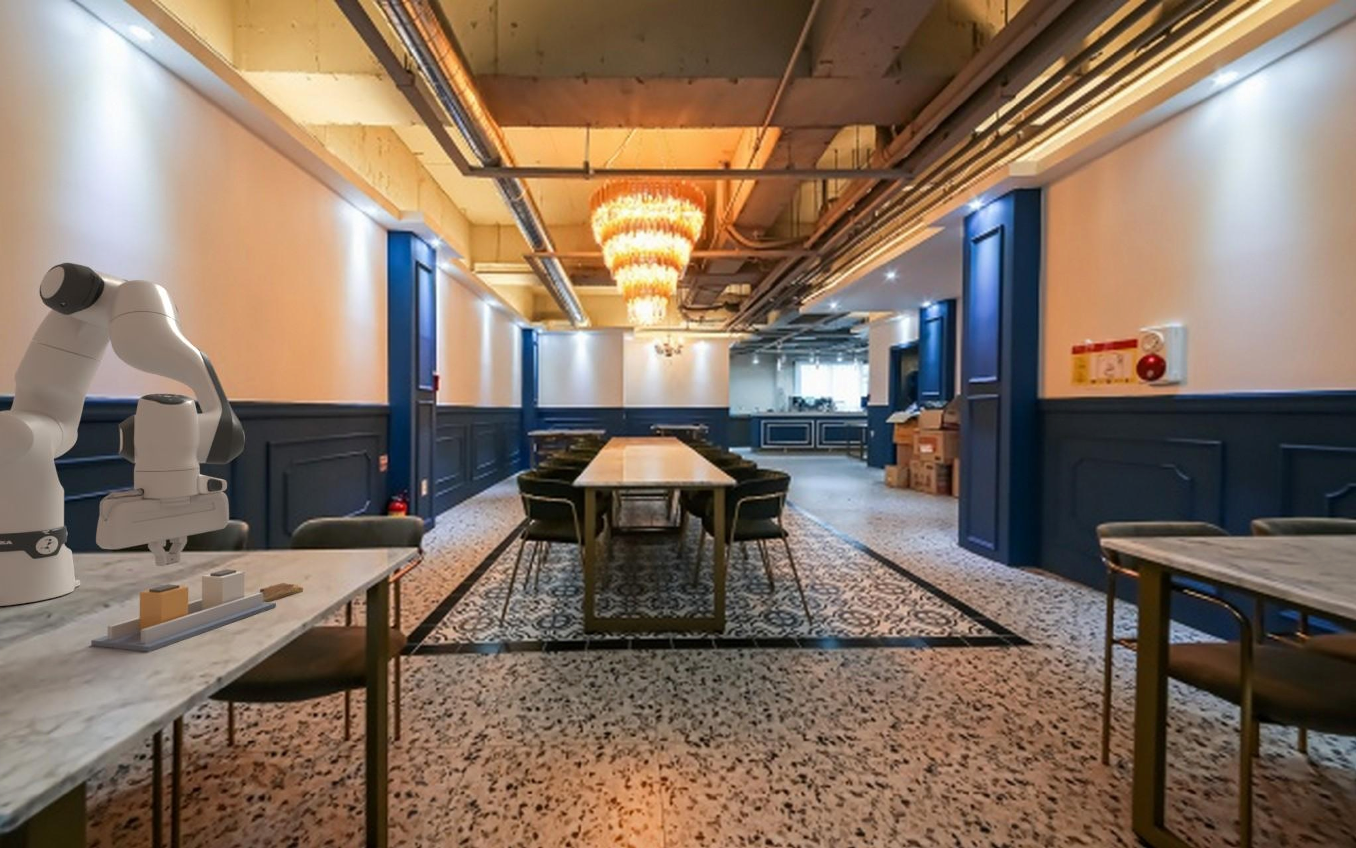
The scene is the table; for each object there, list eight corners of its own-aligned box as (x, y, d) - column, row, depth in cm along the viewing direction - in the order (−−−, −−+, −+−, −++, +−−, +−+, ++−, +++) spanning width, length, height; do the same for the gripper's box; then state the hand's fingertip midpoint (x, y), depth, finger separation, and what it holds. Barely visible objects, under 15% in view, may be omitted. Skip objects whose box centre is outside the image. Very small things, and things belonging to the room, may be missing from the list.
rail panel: (91, 645, 100) (91, 596, 100) (226, 602, 123) (227, 562, 123) (148, 651, 98) (149, 601, 97) (275, 607, 121) (276, 566, 121)
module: (139, 632, 104) (139, 589, 104) (166, 623, 108) (166, 583, 108) (161, 634, 103) (161, 591, 103) (188, 626, 107) (188, 584, 107)
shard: (258, 607, 122) (258, 599, 122) (229, 604, 124) (229, 595, 124) (304, 593, 132) (304, 585, 132) (277, 590, 135) (278, 582, 135)
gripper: (116, 493, 95) (116, 580, 95) (235, 480, 115) (235, 552, 115) (84, 492, 96) (85, 578, 96) (208, 479, 116) (208, 550, 116)
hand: (168, 564), depth 106 cm, fingers closed
